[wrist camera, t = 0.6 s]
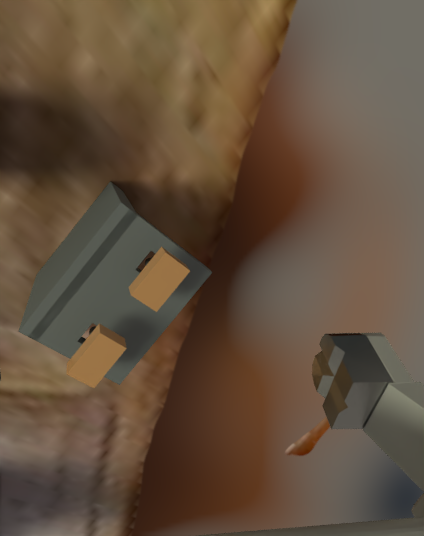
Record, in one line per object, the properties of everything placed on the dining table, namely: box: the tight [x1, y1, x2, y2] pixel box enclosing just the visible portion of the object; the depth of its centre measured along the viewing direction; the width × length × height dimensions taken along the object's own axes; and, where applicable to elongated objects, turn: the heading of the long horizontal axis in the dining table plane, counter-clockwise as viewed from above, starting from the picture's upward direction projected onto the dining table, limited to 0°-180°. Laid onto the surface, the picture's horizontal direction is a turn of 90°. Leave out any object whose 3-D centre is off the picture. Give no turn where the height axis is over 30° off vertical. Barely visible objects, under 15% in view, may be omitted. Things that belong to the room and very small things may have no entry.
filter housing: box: [19, 181, 212, 385], centre depth 48 cm, size 12×16×16 cm
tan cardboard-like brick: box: [67, 323, 127, 388], centre depth 40 cm, size 3×5×6 cm, turn 138°
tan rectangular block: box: [129, 247, 190, 312], centre depth 39 cm, size 3×5×6 cm, turn 139°
